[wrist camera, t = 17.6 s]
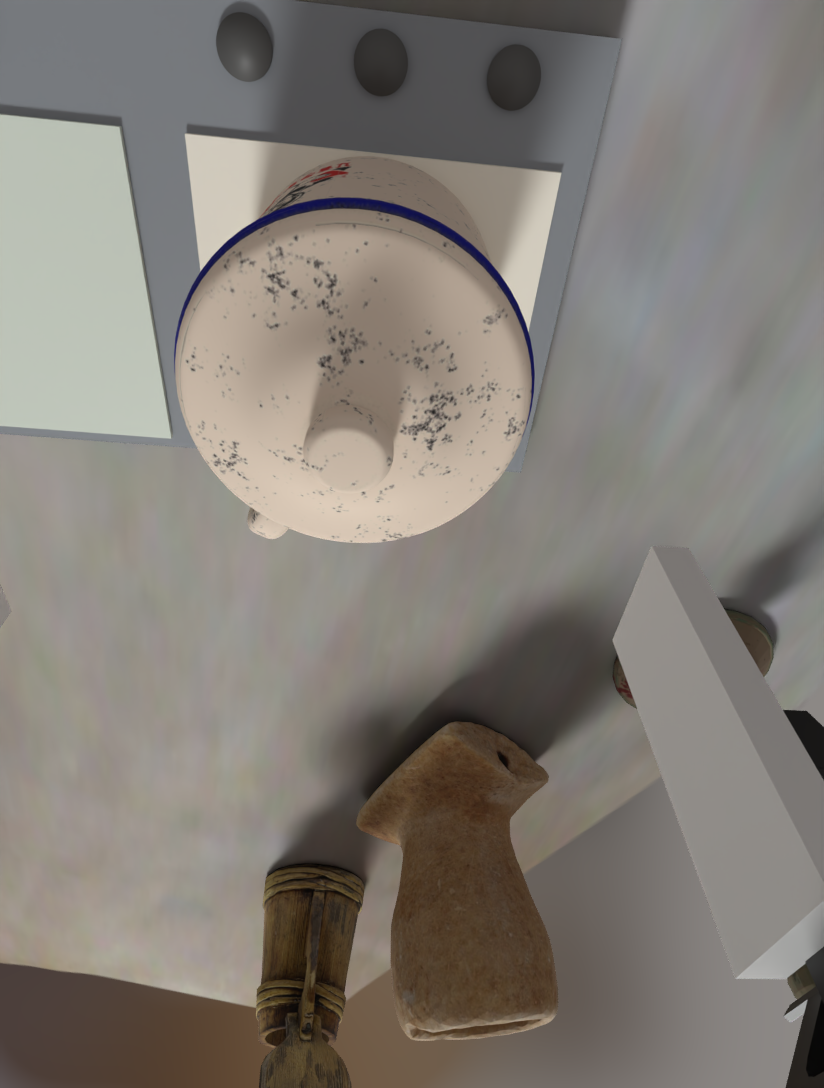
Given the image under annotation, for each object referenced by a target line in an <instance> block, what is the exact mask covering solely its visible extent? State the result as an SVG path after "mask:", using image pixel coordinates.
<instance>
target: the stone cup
mask: <svg viewBox="0 0 824 1088" xmlns="http://www.w3.org/2000/svg"><path fill="white" fill-rule="evenodd" d="M548 778H549V776H548V774H547V772H546V771H545V770H544V769H543V768H542V767H541V766H540V765H538V764H537V763H536V762H535V761H534V760H533V759H532V758H531V757H530V756H529V755H528V754H527V753H526V752H525V751H524V750H522V749H520V748H519V747H518V746H517V745H516V744H515V743H514V742H512V741H511V740H509V739H508V738H507V737H505V736H504V735H503V734H500V733H497V732H494V731H493V730H492V729H489V728H487V727H485V726H483V725H479V724H473V723H472V722H459V721H457V722H452V723H448V724H447V725H445V726H444V727H442V728H441V729H440V730H439V731H437V732H436V733H435V734H434V735H432V736H431V737H430V738H429V739H428V740H427V741H425V742H424V743H423V744H422V745H421V746H420V747H419V748H418V749H417V750H415V751H414V752H413V753H412V754H411V755H410V756H409V757H408V758H407V759H406V760H405V761H404V762H403V763H402V764H401V765H400V766H399V767H398V768H397V769H396V770H395V771H394V772H393V773H392V774H391V775H390V776H389V777H388V778H387V779H386V780H385V781H384V782H383V783H382V784H381V785H380V786H379V788H378V789H377V790H376V791H375V792H374V793H373V794H372V795H371V797H370V798H369V799H368V800H367V802H366V803H365V804H364V805H363V806H362V808H361V810H360V812H359V814H358V816H357V820H356V825H357V826H358V828H359V829H360V830H362V831H364V832H366V833H368V834H370V835H373V836H375V837H377V838H380V839H382V840H385V841H388V842H391V843H395V844H398V845H401V848H402V852H403V863H402V871H401V879H400V886H399V892H398V897H397V901H396V905H395V909H394V914H393V919H392V924H391V973H392V984H393V994H394V1002H395V1008H396V1012H397V1016H398V1019H399V1023H400V1025H401V1027H402V1029H403V1030H404V1032H405V1033H406V1035H407V1036H408V1037H409V1038H411V1039H412V1040H419V1041H432V1040H438V1039H449V1040H461V1039H475V1038H476V1039H477V1038H486V1037H491V1036H499V1035H506V1034H512V1033H516V1032H522V1031H526V1030H530V1029H533V1028H536V1027H538V1026H541V1025H544V1024H547V1023H549V1022H550V1021H551V1020H553V1018H554V1017H555V1015H556V1014H557V1008H558V987H557V980H556V972H555V966H554V959H553V952H552V948H551V944H550V939H549V937H548V934H547V931H546V928H545V926H544V924H543V921H542V919H541V917H540V915H539V913H538V910H537V908H536V906H535V904H534V901H533V899H532V897H531V895H530V892H529V890H528V887H527V884H526V882H525V879H524V876H523V874H522V871H521V869H520V866H519V864H518V862H517V859H516V856H515V853H514V850H513V846H512V843H511V838H510V819H511V817H512V816H513V814H514V813H515V812H516V811H517V810H518V809H519V808H520V807H521V806H522V805H523V804H524V803H525V802H526V800H527V799H528V798H530V797H531V796H532V795H533V794H534V793H535V792H536V791H538V790H539V789H540V788H541V787H542V786H544V785H545V784H546V783H547V782H548Z"/></svg>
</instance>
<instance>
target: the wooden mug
mask: <svg viewBox="0 0 824 1088" xmlns="http://www.w3.org/2000/svg"><path fill="white" fill-rule="evenodd" d="M363 896H364V885H363V883H362V881H361V879H359V878H358V877H356V876H355V875H354V874H352V873H350V872H347V871H345V870H342V869H340V868H336V867H331V866H321V865H316V864H302V865H295V866H288V867H284V868H281V869H278V870H276V871H275V872H274V873H272V874H271V875H269V876H268V877H267V878H266V882H265V890H264V899H263V908H264V910H265V914H264V938H263V962H262V978H261V986H259V987H258V989H257V1004H256V1017H257V1019H258V1020H259V1025H258V1027H259V1028H258V1040H259V1042H260V1043H261V1044H263V1045H265V1046H268V1047H271V1048H275V1049H274V1050H272V1051H271V1052H270V1053H269V1054H268V1055H267V1056H266V1057H265V1059H264V1061H263V1063H262V1065H261V1072H260V1083H259V1088H351V1081H350V1078H349V1074H348V1071H347V1068H346V1066H345V1063H344V1061H343V1060H342V1059H341V1057H340V1056H339V1055H338V1054H337V1052H336V1051H335V1050H334V1049H333V1048H332V1047H331V1045H333V1043H334V1042H335V1041H336V1036H337V1031H338V1025H339V1024H340V1022H341V1021H342V1016H343V1011H344V1006H345V1001H346V997H345V995H344V991H345V984H346V978H347V971H348V966H349V961H350V955H351V950H352V944H353V939H354V933H355V928H356V922H357V917H358V914H359V913H360V912H361V910H362V904H363Z"/></svg>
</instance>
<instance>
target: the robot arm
mask: <svg viewBox="0 0 824 1088" xmlns="http://www.w3.org/2000/svg"><path fill="white" fill-rule="evenodd" d="M10 613H11V609H10V606H9V604H8V602H7V599H6V597H5V594H4V592H3V590H2V587H1V585H0V627H1V626H2V624H3V623H4V621H5V620H6V619H7V617H8V616H9V614H10ZM612 641H613V643H614V646H615V649H616V652H617V654H618V657H619V660H620V663H621V665H622V668H623V671H624V674H625V676H626V679H627V682H628V685H629V687H630V690H631V693H632V696H633V698H634V701H635V704H636V707H637V709H638V712H639V715H640V718H641V720H642V723H643V726H644V729H645V731H646V734H647V737H648V740H649V742H650V745H651V748H652V751H653V753H654V756H655V759H656V762H657V764H658V767H659V770H660V773H661V775H662V778H663V780H664V783H665V786H666V789H667V792H668V794H669V797H670V800H671V803H672V805H673V808H674V811H675V814H676V817H677V819H678V822H679V825H680V828H681V830H682V832H683V836H684V839H685V841H686V844H687V847H688V850H689V852H690V855H691V858H692V860H693V863H694V866H695V869H696V872H697V874H698V877H699V880H700V882H701V885H702V888H703V891H704V894H705V896H706V899H707V902H708V905H709V907H710V910H711V913H712V915H713V918H714V921H715V924H716V927H717V929H718V932H719V935H720V938H721V940H722V943H723V945H724V949H725V951H726V954H727V957H728V960H729V962H730V965H731V968H732V971H733V973H734V976H735V978H736V979H786V978H788V977H789V976H790V975H792V974H793V973H794V972H795V971H797V970H798V969H799V968H800V967H802V966H803V965H804V964H806V965H807V967H808V969H809V971H810V974H811V976H812V978H813V980H814V983H815V985H816V986H815V987H814V988H813V989H811V990H810V991H809V992H807V993H806V994H804V995H803V996H802V997H800V998H799V999H798V1000H796V1001H795V1002H793V1003H792V1004H791V1005H790V1006H789V1008H788V1009H787V1011H786V1013H785V1015H784V1018H786V1019H787V1020H788V1021H790V1022H793V1021H794V1020H796V1019H797V1018H798V1017H800V1016H801V1015H803V1014H804V1016H803V1020H802V1024H801V1029H800V1032H799V1036H798V1040H797V1044H796V1048H795V1052H794V1056H793V1061H792V1064H791V1069H790V1072H789V1077H788V1080H787V1085H786V1088H824V727H823V726H822V725H821V724H820V723H819V722H818V721H817V720H816V719H815V718H813V717H812V716H811V715H810V714H809V713H808V712H807V711H795V710H782V708H781V706H780V704H779V703H778V701H777V699H776V697H775V696H774V694H773V692H772V691H771V689H770V687H769V685H768V684H767V682H766V680H765V679H764V677H763V675H762V673H761V672H760V670H759V668H758V667H757V665H756V663H755V661H754V660H753V658H752V656H751V654H750V653H749V651H748V649H747V648H746V646H745V644H744V642H743V641H742V639H741V637H740V636H739V634H738V632H737V630H736V629H735V627H734V625H733V624H732V622H731V620H730V618H729V617H728V615H727V613H726V612H725V610H724V608H723V606H722V605H721V603H720V601H719V599H718V598H717V596H716V594H715V593H714V591H713V589H712V587H711V586H710V584H709V582H708V581H707V579H706V577H705V575H704V574H703V572H702V570H701V569H700V567H699V565H698V563H697V562H696V560H695V558H694V556H693V555H692V553H691V551H690V550H689V548H684V547H667V546H651V548H650V551H649V553H648V555H647V558H646V560H645V563H644V565H643V568H642V570H641V572H640V575H639V577H638V580H637V582H636V584H635V587H634V589H633V592H632V594H631V596H630V599H629V601H628V604H627V606H626V609H625V611H624V613H623V616H622V618H621V621H620V623H619V625H618V628H617V630H616V633H615V635H614V637H613V640H612Z"/></svg>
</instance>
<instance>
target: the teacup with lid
mask: <svg viewBox="0 0 824 1088" xmlns="http://www.w3.org/2000/svg"><path fill="white" fill-rule="evenodd" d="M174 372H175V380H176V387H177V394H178V399H179V403H180V407H181V411H182V414H183V417H184V420H185V423H186V426H187V428H188V430H189V433H190V435H191V437H192V439H193V441H194V443H195V445H196V446H197V448H198V450H199V452H200V453H201V455H202V457H203V458H204V459H205V461H206V462H207V464H208V465H209V467H210V468H211V469H212V471H213V472H214V473H215V474H216V475H217V476H218V478H219V479H220V480H221V481H222V482H223V483H224V484H225V485H226V486H227V487H228V488H229V489H230V490H231V491H232V492H233V493H234V494H235V495H236V496H237V497H239V498H240V499H241V500H242V501H243V502H244V503H246V504H247V505H249V506H250V510H249V514H248V526H249V528H250V529H251V530H252V531H253V532H254V533H256V534H258V535H261V536H263V537H265V538H268V539H276V538H278V537H280V536H281V535H283V534H284V533H285V532H286V531H287V530H288V529H289V528H290V529H292V530H295V531H297V532H300V533H303V534H306V535H310V536H313V537H318V538H322V539H326V540H333V541H339V542H350V543H374V542H385V541H392V540H398V539H402V538H407V537H411V536H414V535H417V534H420V533H423V532H426V531H429V530H431V529H433V528H436V527H438V526H440V525H442V524H444V523H446V522H448V521H450V520H451V519H453V518H455V517H456V516H458V515H459V514H461V513H463V512H464V511H465V510H467V509H468V508H469V507H471V506H472V505H473V504H475V503H476V502H477V501H478V500H479V499H480V498H481V497H482V496H483V495H484V494H486V493H487V492H488V491H489V489H490V488H491V487H492V486H493V485H494V484H495V483H496V482H497V480H498V479H499V478H500V476H501V475H502V474H503V472H504V471H505V470H506V468H507V467H508V465H509V463H510V462H511V460H512V458H513V457H514V455H515V453H516V450H517V448H518V446H519V444H520V442H521V439H522V437H523V435H524V432H525V429H526V426H527V424H528V420H529V416H530V412H531V408H532V402H533V395H534V381H535V371H534V356H533V351H532V345H531V339H530V336H529V332H528V329H527V325H526V322H525V320H524V317H523V315H522V312H521V310H520V307H519V305H518V303H517V301H516V299H515V297H514V296H513V294H512V292H511V290H510V288H509V287H508V285H507V284H506V282H505V281H504V279H503V278H502V277H501V275H500V274H499V272H498V271H497V270H496V269H495V268H494V266H493V265H492V262H491V259H490V257H489V254H488V251H487V249H486V246H485V244H484V241H483V239H482V236H481V234H480V231H479V229H478V228H477V226H476V224H475V222H474V220H473V218H472V217H471V215H470V214H469V212H468V211H467V209H466V208H465V207H464V206H463V204H462V203H461V202H460V201H459V199H458V198H457V197H456V196H455V195H454V194H453V193H452V192H451V191H450V190H449V189H448V188H447V187H445V186H444V185H443V184H442V183H440V182H439V181H438V180H436V179H435V178H433V177H432V176H430V175H429V174H427V173H425V172H424V171H422V170H420V169H418V168H416V167H413V166H411V165H408V164H406V163H403V162H400V161H396V160H392V159H388V158H381V157H373V156H357V157H348V158H342V159H338V160H333V161H330V162H327V163H324V164H321V165H319V166H317V167H315V168H313V169H311V170H309V171H307V172H305V173H304V174H302V175H301V176H299V177H298V178H296V179H295V180H294V181H292V182H291V183H290V184H289V185H287V186H286V187H285V188H284V189H283V190H282V191H281V192H280V193H279V194H278V196H277V197H276V198H275V199H274V200H273V202H272V203H271V204H270V205H269V207H268V208H267V209H266V210H265V211H264V213H263V214H262V215H261V216H260V218H259V219H257V220H256V221H254V222H253V223H251V224H249V225H248V226H246V227H245V228H243V229H241V230H240V231H239V232H238V233H236V234H235V235H234V236H233V237H231V238H230V239H229V240H228V241H226V242H225V243H224V244H223V246H222V247H221V248H220V249H219V250H218V251H217V252H216V253H215V254H214V255H213V256H212V257H211V258H210V260H209V261H208V262H207V264H206V265H205V266H204V267H203V269H202V270H201V272H200V273H199V275H198V277H197V278H196V280H195V282H194V283H193V285H192V287H191V289H190V291H189V293H188V296H187V298H186V300H185V302H184V305H183V308H182V311H181V315H180V318H179V321H178V327H177V332H176V337H175V348H174Z"/></svg>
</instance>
